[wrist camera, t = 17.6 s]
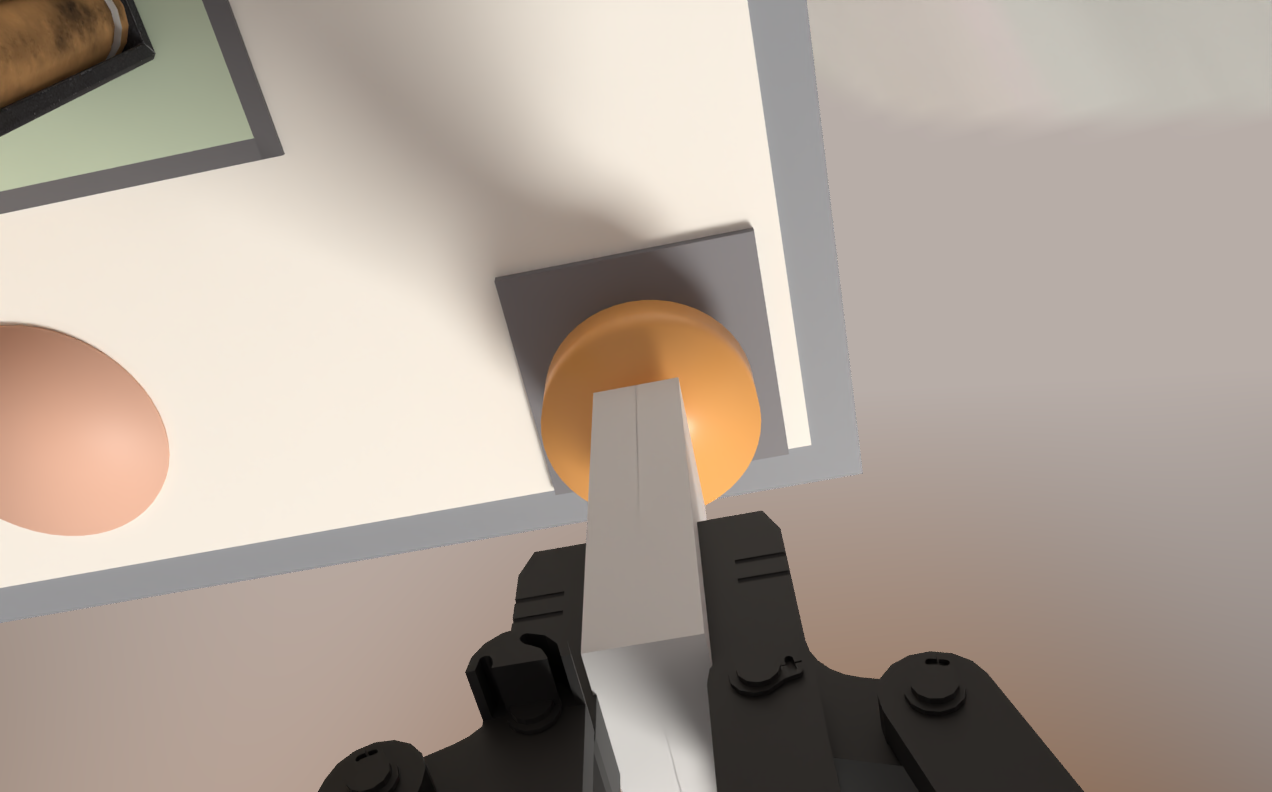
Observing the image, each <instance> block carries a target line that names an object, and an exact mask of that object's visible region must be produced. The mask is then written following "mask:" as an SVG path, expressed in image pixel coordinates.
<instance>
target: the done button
mask: <svg viewBox="0 0 1272 792" xmlns="http://www.w3.org/2000/svg"><path fill="white" fill-rule="evenodd" d="M677 377H678V378H679V383H680V388H681V393H682V398H683V402H684V407H685V412H686V417H687V422H688V427H689V431H690V436H691V441H692V446H693V451H694V456H695V460H696V465H697V470H698V475H699V480H700V485H701V489H702V494H703V499H704V504H705V505H706V504H709V503H710V502H712V501H714V500H715V499H717V498H718V497H720V496H721V495H723V494H724V493H725V492H726V491H727V490H729V489H730V488H731V487H732V486H733V485H734V484H735V483H736V482H737V481H738V480H739V479H740V477H741V476H742V475H743V473H744V472H745V471H746V469H747V468H748V466H749V464H750V462H751V461H752V459H753V457H754V454H755V452H756V449H757V446H758V442H759V438H760V433H761V412H760V405H759V401H758V397H757V392H756V388H755V384H754V379H753V375H752V371H751V367H750V364H749V361H748V359H747V357H746V354H745V352H744V351H743V349H742V347H741V346H740V344H739V342H738V341H737V340H736V339H735V338H734V336H733V335H732V334H731V333H730V332H729V331H728V330H727V329H726V328H725V327H724V326H723V325H722V324H721V323H719V322H718V321H716V320H715V319H714V318H712V317H711V316H709V315H707V314H705V313H703V312H701V311H699V310H697V309H695V308H692V307H689V306H687V305H684V304H679V303H675V302H671V301H662V300H639V301H631V302H626V303H622V304H618V305H614V306H612V307H609V308H607V309H604V310H602V311H600V312H598V313H596V314H594V315H592V316H590V317H589V318H587V319H586V320H585V321H583V322H582V323H581V324H579V325H578V326H577V327H576V328H575V329H574V330H573V331H572V332H570V333H569V334H568V336H567V337H566V338H565V339H564V341H563V342H562V343H561V344H560V346H559V348H558V349H557V351H556V353H555V354H554V356H553V359H552V361H551V363H550V366H549V369H548V373H547V377H546V383H545V391H544V398H543V406H542V415H541V435H542V440H543V445H544V449H545V451H546V454H547V457H548V459H549V461H550V463H551V465H552V467H553V469H554V470H555V472H556V473H557V474H558V476H559V477H560V478H561V480H562V481H563V482H564V483H565V484H566V485H567V486H568V487H569V488H570V489H571V490H572V491H574V492H575V493H576V494H577V495H579V496H580V497H581V498H583V499H584V500H586V501H588V494H589V473H590V452H591V431H592V410H593V393H596V392H601V391H606V390H612V389H617V388H623V387H628V386H633V385H639V384H644V383H650V382H655V381H661V380H666V379H671V378H677Z"/></svg>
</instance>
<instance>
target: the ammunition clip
mask: <svg viewBox="0 0 1272 792" xmlns="http://www.w3.org/2000/svg"><path fill="white" fill-rule="evenodd" d="M155 54H156V53H155V51H154V49H153V46H152V44H151V41H150V39H149V36H148V34H147V32H146V29H145V27H144V24H143V22H142V19H141V17H140V14H139V12H138V10H137V7H136V5H135V2H134V0H0V137H1V136H3V135H5V134H7V133H9V132H11V131H13V130H15V129H17V128H19V127H21V126H23V125H25V124H27V123H29V122H31V121H33V120H35V119H37V118H39V117H41V116H43V115H45V114H47V113H49V112H51V111H53V110H55V109H57V108H59V107H61V106H63V105H64V104H66V103H68V102H70V101H72V100H74V99H76V98H78V97H80V96H82V95H84V94H86V93H88V92H90V91H92V90H94V89H96V88H98V87H100V86H102V85H104V84H106V83H108V82H110V81H112V80H114V79H116V78H118V77H120V76H122V75H124V74H126V73H128V72H130V71H132V70H134V69H136V68H138V67H139V66H141V65H143V64H145V63H147V62H149V61H151V60H153V59H154V57H155Z"/></svg>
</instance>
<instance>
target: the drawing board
mask: <svg viewBox="0 0 1272 792" xmlns="http://www.w3.org/2000/svg"><path fill="white" fill-rule="evenodd" d="M134 2H135V5H136V7H137V10H138V12H139V14H140V17H141V19H142V22H143V24H144V27H145V29H146V32H147V34H148V36H149V39H150V41H151V44H152V46H153V49H154V51H155V53H156V54H155V57H154V59H153V60H151V61H149V62H147V63H145V64H143V65H141V66H139V67H138V68H136V69H134V70H132V71H130V72H128V73H126V74H124V75H122V76H120V77H118V78H116V79H114V80H112V81H110V82H108V83H106V84H104V85H102V86H100V87H98V88H96V89H94V90H92V91H90V92H88V93H86V94H84V95H82V96H80V97H78V98H76V99H74V100H72V101H70V102H68V103H66V104H64V105H63V106H61V107H59V108H57V109H55V110H53V111H51V112H49V113H47V114H45V115H43V116H41V117H39V118H37V119H35V120H33V121H31V122H29V123H27V124H25V125H23V126H21V127H19V128H17V129H15V130H13V131H11V132H9V133H7V134H5V135H3V136H1V137H0V623H3V622H8V621H14V620H20V619H26V618H32V617H37V616H43V615H48V614H55V613H60V612H66V611H72V610H77V609H83V608H89V607H95V606H101V605H107V604H112V603H118V602H124V601H129V600H135V599H141V598H147V597H153V596H158V595H164V594H170V593H175V592H182V591H187V590H193V589H199V588H204V587H210V586H216V585H222V584H227V583H233V582H239V581H245V580H251V579H256V578H262V577H268V576H274V575H280V574H286V573H291V572H297V571H303V570H309V569H314V568H320V567H326V566H332V565H337V564H343V563H349V562H355V561H360V560H366V559H372V558H378V557H383V556H389V555H395V554H400V553H406V552H412V551H418V550H424V549H430V548H435V547H441V546H446V545H453V544H458V543H464V542H470V541H476V540H482V539H488V538H493V537H499V536H505V535H511V534H516V533H522V532H528V531H534V530H539V529H545V528H551V527H557V526H562V525H568V524H574V523H579V522H585V521H587V515H588V501H586V500H584V499H583V498H581V497H580V496H579V495H577V494H576V493H575V492H574V491H572V490H571V489H570V488H569V487H568V486H567V485H566V484H565V483H564V482H563V481H562V480H561V478H560V477H559V476H558V474H557V473H556V472H555V470H554V469H553V467H552V465H551V463H550V461H549V459H548V457H547V454H546V451H545V449H544V445H543V440H542V435H541V415H542V406H543V398H544V391H545V383H546V377H547V373H548V369H549V366H550V363H551V361H552V359H553V356H554V354H555V353H556V351H557V349H558V348H559V346H560V344H561V343H562V342H563V341H564V339H565V338H566V337H567V336H568V334H569V333H570V332H572V331H573V330H574V329H575V328H576V327H577V326H578V325H579V324H581V323H582V322H583V321H585V320H586V319H587V318H589V317H590V316H592V315H594V314H596V313H598V312H600V311H602V310H604V309H607V308H609V307H612V306H614V305H618V304H622V303H626V302H631V301H639V300H662V301H671V302H675V303H679V304H684V305H687V306H689V307H692V308H695V309H697V310H699V311H701V312H703V313H705V314H707V315H709V316H711V317H712V318H714V319H715V320H716V321H718V322H719V323H721V324H722V325H723V326H724V327H725V328H726V329H727V330H728V331H729V332H730V333H731V334H732V335H733V336H734V338H735V339H736V340H737V341H738V342H739V344H740V346H741V347H742V349H743V351H744V352H745V354H746V357H747V359H748V361H749V364H750V367H751V371H752V375H753V379H754V384H755V388H756V392H757V397H758V401H759V405H760V412H761V433H760V438H759V442H758V446H757V449H756V452H755V454H754V457H753V459H752V461H751V462H750V464H749V466H748V468H747V469H746V471H745V472H744V473H743V475H742V476H741V477H740V479H739V480H738V481H737V482H736V483H735V484H734V485H733V486H732V487H731V488H730V489H729V490H727V491H726V492H725V493H724V494H723V495H721V496H720V497H718V498H724V497H730V496H736V495H741V494H747V493H753V492H758V491H765V490H770V489H776V488H782V487H787V486H793V485H799V484H805V483H811V482H817V481H822V480H828V479H833V478H839V477H845V476H851V475H857V474H862V473H863V472H862V463H861V454H860V446H859V438H858V429H857V421H856V412H855V404H854V396H853V388H852V379H851V370H850V362H849V353H848V346H847V337H846V329H845V320H844V312H843V303H842V295H841V287H840V278H839V270H838V261H837V253H836V244H835V236H834V228H833V219H832V210H831V202H830V194H829V185H828V178H827V169H826V160H825V152H824V143H823V135H822V126H821V118H820V109H819V101H818V93H817V84H816V76H815V67H814V59H813V51H812V42H811V34H810V25H809V17H808V8H807V0H134ZM718 498H717V499H718Z"/></svg>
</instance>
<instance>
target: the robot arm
mask: <svg viewBox="0 0 1272 792" xmlns="http://www.w3.org/2000/svg"><path fill="white" fill-rule="evenodd" d="M515 600H516V604H515V607H514V614H513V624H512V629H511V631H508V632H505V633H502V634H500V635H499V636H497V637H495V638H494V639H492V640H490V641H489V642H487V643H485V644H484V645H483V646H482V647H481V648H480V649H479V650H478V651H477V652H476V653H475V654H474V655H473V656H472V658H471V660H470V662H469V665H468V667H467V670H466V672H465V673H466V675H467V678H468V681H469V683H470V686H471V689H472V692H473V694H474V697H475V700H476V703H477V705H478V708H479V710H480V714H481V716H482V719H483V725H482V727H481V728H480V729H478V730H477V731H476V732H474V733H473V734H472V735H470V736H469V737H467V738H465V739H463V740H461V741H459V742H457V743H456V744H454V745H451V746H449V747H446V748H444V749H442V750H439V751H437V752H435V753H432V754H430V755H428V756H425V757H423V756H422V753H421V752H419V751H418V750H417V749H416V748H415V747H414V746H412V745H411V744H409V743H405V742H400V741H396V740H392V741H384V742H376V743H373V744H371V745H368V746H366V747H363V748H361V749H358V750H356V751H355V752H353V753H352V754H350V755H349V756H348V757H346V758H345V759H344V760H342V761H341V762H340V763H338V764H337V765H336V766H335V768H334V769H333V770H332V771H331V773H330V774H329V775H328V776H327V778H326V779H325V780H324V782H323V784H322V786H321V787H320V789H319V791H318V792H620V787H621V790H622V792H1084V791H1083V790H1082V789H1081V787H1080V786H1079V785H1078V784H1077V783H1076V781H1075V780H1074V779H1073V778H1072V776H1071V775H1070V774H1069V773H1068V772H1067V770H1066V769H1065V768H1064V767H1063V765H1062V764H1061V763H1060V762H1059V760H1058V759H1057V758H1056V757H1055V756H1054V754H1053V753H1052V752H1051V751H1050V749H1049V748H1048V747H1047V746H1046V745H1045V743H1044V742H1043V741H1042V740H1041V738H1040V737H1039V736H1038V735H1037V734H1036V733H1035V731H1034V730H1033V729H1032V727H1031V726H1030V725H1029V724H1028V723H1027V721H1026V720H1025V719H1024V718H1023V717H1022V715H1021V714H1020V713H1019V712H1018V710H1017V709H1016V708H1015V707H1014V705H1013V704H1012V703H1011V702H1010V700H1009V699H1008V698H1007V697H1006V696H1005V694H1004V693H1003V692H1002V691H1001V689H1000V688H999V687H998V686H997V685H996V683H995V682H994V681H993V680H992V678H991V677H990V676H989V675H988V674H987V673H986V672H985V671H984V670H983V669H981V668H980V667H979V666H978V665H977V664H975V663H974V662H973V661H971V660H968V659H966V658H963V657H960V656H958V655H955V654H952V653H941V652H925V653H919V654H914V655H909V656H907V657H905V658H903V659H902V660H900V661H898V662H896V663H894V664H892V665H891V666H890V667H889V669H888V670H887V671H886V672H885V673H884V675H883V676H882V677H881V678H880V679H872V678H861V677H856V676H850V675H845V674H842V673H839V672H837V671H834V670H832V669H829V668H828V667H826V666H825V665H824V664H822V663H820V662H819V661H817V659H816V658H815V657H814V656H813V655H812V653H811V652H810V651H809V648H808V646H807V643H806V641H805V637H804V633H803V628H802V624H801V620H800V615H799V610H798V606H797V602H796V597H795V592H794V588H793V583H792V579H791V575H790V570H789V565H788V561H787V556H786V552H785V548H784V543H783V539H782V534H781V529H780V528H779V527H778V526H777V525H776V524H775V523H774V522H773V521H772V520H771V519H770V518H769V517H768V516H767V515H766V514H765V513H764V512H763V511H757V512H752V513H746V514H740V515H734V516H729V517H723V518H717V519H711V520H707V519H706V512H705V504H704V499H703V494H702V489H701V485H700V480H699V475H698V470H697V465H696V460H695V456H694V451H693V446H692V441H691V436H690V431H689V427H688V422H687V417H686V412H685V407H684V402H683V398H682V393H681V388H680V383H679V378H678V377H677V378H671V379H666V380H661V381H655V382H650V383H644V384H639V385H633V386H628V387H623V388H617V389H612V390H606V391H601V392H596V393H593V410H592V431H591V452H590V473H589V494H588V515H587V537H586V543H585V544H579V545H574V546H569V547H562V548H557V549H551V550H545V551H539V552H534V554H533V555H532V557H531V558H530V560H529V561H528V563H527V564H526V566H525V567H524V569H523V570H522V572H521V573H520V574H519V577H518V584H517V592H516V599H515Z"/></svg>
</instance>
